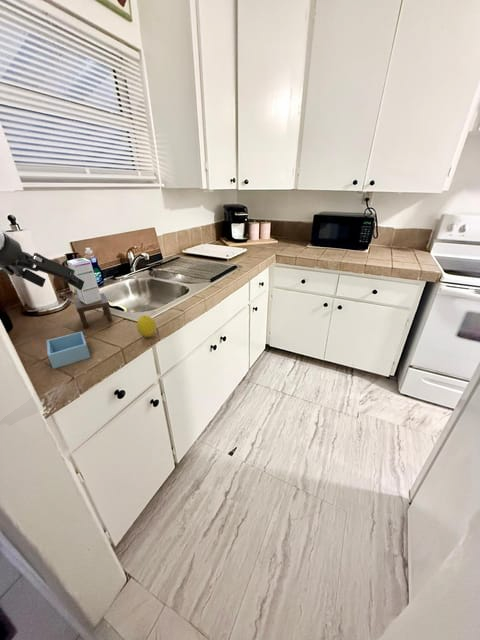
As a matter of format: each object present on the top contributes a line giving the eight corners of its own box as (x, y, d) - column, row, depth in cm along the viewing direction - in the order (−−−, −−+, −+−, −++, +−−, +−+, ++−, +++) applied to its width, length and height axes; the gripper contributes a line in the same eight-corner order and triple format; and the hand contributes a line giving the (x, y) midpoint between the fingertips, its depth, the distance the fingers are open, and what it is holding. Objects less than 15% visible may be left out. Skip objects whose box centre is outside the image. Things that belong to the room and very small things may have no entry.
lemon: (160, 334, 87) (156, 313, 83) (149, 343, 82) (144, 321, 79) (147, 331, 89) (143, 310, 85) (135, 339, 84) (130, 317, 81)
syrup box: (102, 300, 93) (91, 259, 86) (85, 305, 89) (72, 263, 82) (95, 296, 96) (84, 257, 89) (78, 300, 92) (65, 260, 85)
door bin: (51, 352, 78) (46, 340, 76) (86, 343, 82) (82, 331, 80) (53, 368, 71) (47, 355, 69) (90, 357, 76) (86, 344, 74)
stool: (79, 318, 97) (73, 299, 94) (108, 311, 102) (103, 293, 99) (83, 329, 90) (76, 308, 86) (113, 321, 95) (108, 301, 91)
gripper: (44, 232, 59) (102, 275, 80) (-45, 229, 63) (31, 271, 83) (32, 262, 57) (95, 298, 77) (-59, 257, 61) (23, 292, 81)
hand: (62, 284), depth 80 cm, fingers open, 13 cm apart
